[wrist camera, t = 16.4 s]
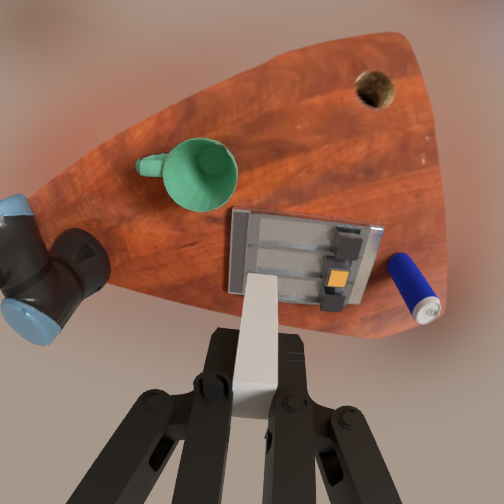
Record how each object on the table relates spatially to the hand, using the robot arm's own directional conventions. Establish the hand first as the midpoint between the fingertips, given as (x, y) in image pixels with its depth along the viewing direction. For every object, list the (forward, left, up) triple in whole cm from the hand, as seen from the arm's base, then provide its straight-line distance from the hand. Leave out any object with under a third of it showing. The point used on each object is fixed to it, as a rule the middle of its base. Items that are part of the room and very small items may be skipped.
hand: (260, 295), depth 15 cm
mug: (-11, 0, -33) cm, 34 cm away
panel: (+8, -16, -32) cm, 37 cm away
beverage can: (+27, -15, -33) cm, 45 cm away
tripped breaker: (+13, -16, -31) cm, 37 cm away
